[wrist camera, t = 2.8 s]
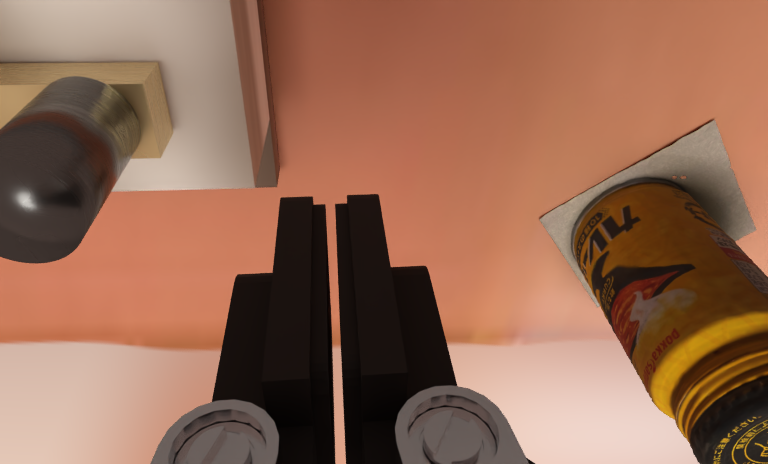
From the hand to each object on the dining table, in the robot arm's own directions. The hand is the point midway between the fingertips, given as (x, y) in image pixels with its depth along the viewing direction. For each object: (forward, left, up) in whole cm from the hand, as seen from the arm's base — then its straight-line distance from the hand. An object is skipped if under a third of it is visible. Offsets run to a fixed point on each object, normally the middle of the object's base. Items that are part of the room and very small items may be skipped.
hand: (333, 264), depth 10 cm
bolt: (+8, -4, -7) cm, 11 cm away
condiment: (-10, +14, -14) cm, 22 cm away
